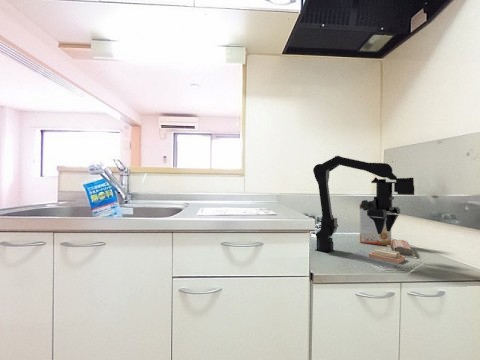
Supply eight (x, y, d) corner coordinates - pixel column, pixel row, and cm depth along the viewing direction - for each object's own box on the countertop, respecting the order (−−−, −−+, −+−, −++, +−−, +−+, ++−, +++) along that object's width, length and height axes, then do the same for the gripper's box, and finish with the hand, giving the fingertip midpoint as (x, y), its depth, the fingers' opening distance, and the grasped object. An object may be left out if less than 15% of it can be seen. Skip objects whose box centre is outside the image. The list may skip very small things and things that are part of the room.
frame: (368, 257, 109) (368, 253, 109) (376, 254, 114) (376, 250, 114) (398, 263, 101) (398, 259, 101) (405, 259, 106) (405, 256, 106)
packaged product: (386, 237, 128) (411, 240, 123) (386, 247, 128) (411, 250, 123) (388, 246, 112) (416, 249, 107) (388, 257, 112) (416, 260, 107)
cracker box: (391, 243, 134) (391, 202, 134) (390, 246, 129) (390, 203, 129) (361, 240, 141) (361, 201, 141) (359, 242, 136) (359, 202, 136)
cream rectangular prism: (395, 262, 103) (395, 254, 103) (374, 257, 109) (374, 250, 109) (399, 259, 106) (399, 252, 106) (378, 255, 112) (378, 248, 112)
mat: (343, 258, 109) (343, 257, 109) (360, 251, 119) (360, 250, 119) (391, 269, 96) (391, 267, 96) (405, 260, 106) (405, 259, 106)
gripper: (373, 192, 120) (373, 227, 120) (354, 194, 108) (353, 232, 108) (400, 193, 111) (400, 230, 111) (383, 195, 99) (383, 237, 99)
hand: (384, 232), depth 108 cm, fingers open, 9 cm apart
